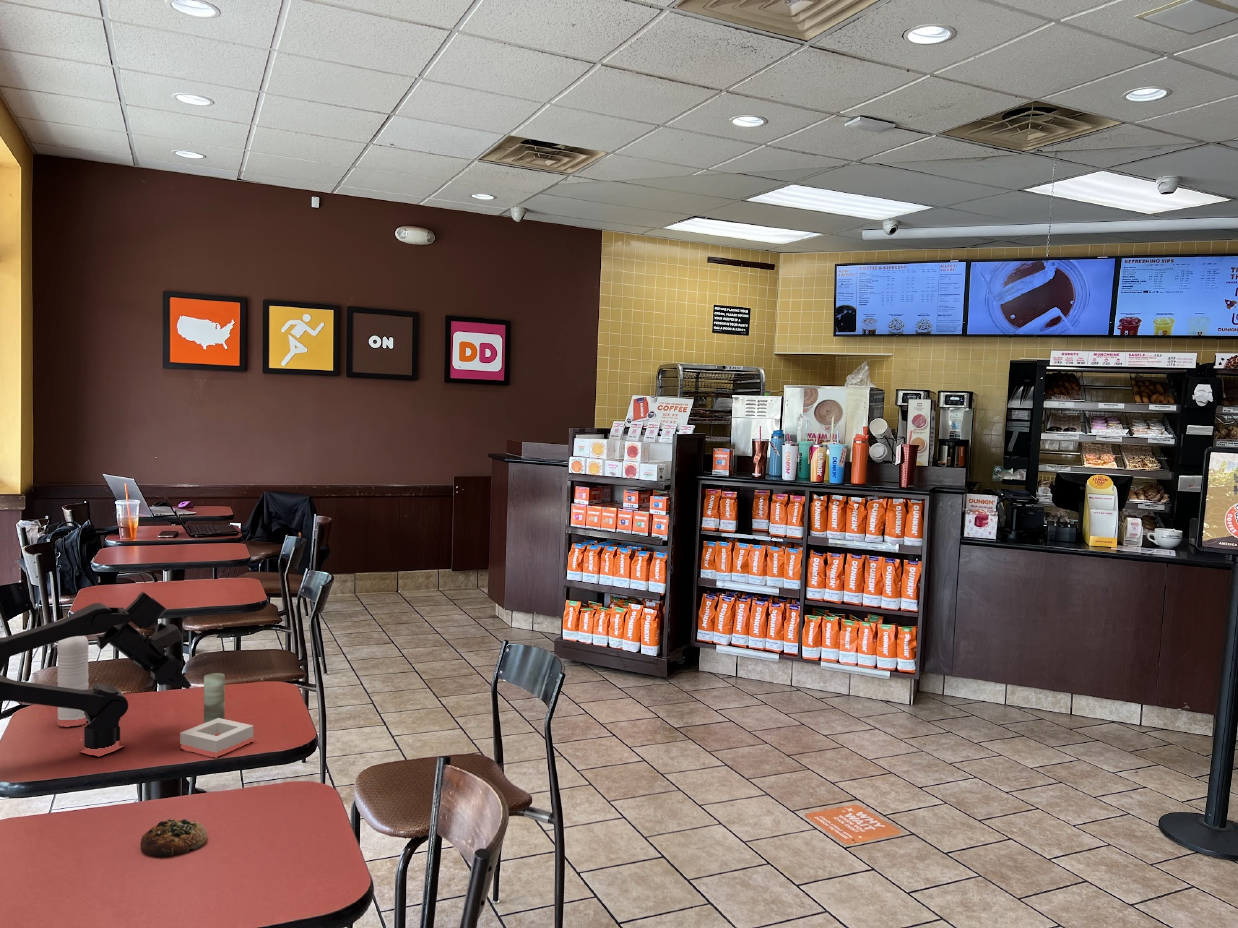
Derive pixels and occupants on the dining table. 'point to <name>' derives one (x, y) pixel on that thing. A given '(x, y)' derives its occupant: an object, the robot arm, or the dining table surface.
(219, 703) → the green peg
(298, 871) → the dining table surface
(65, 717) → the water bottle
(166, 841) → the bread roll
